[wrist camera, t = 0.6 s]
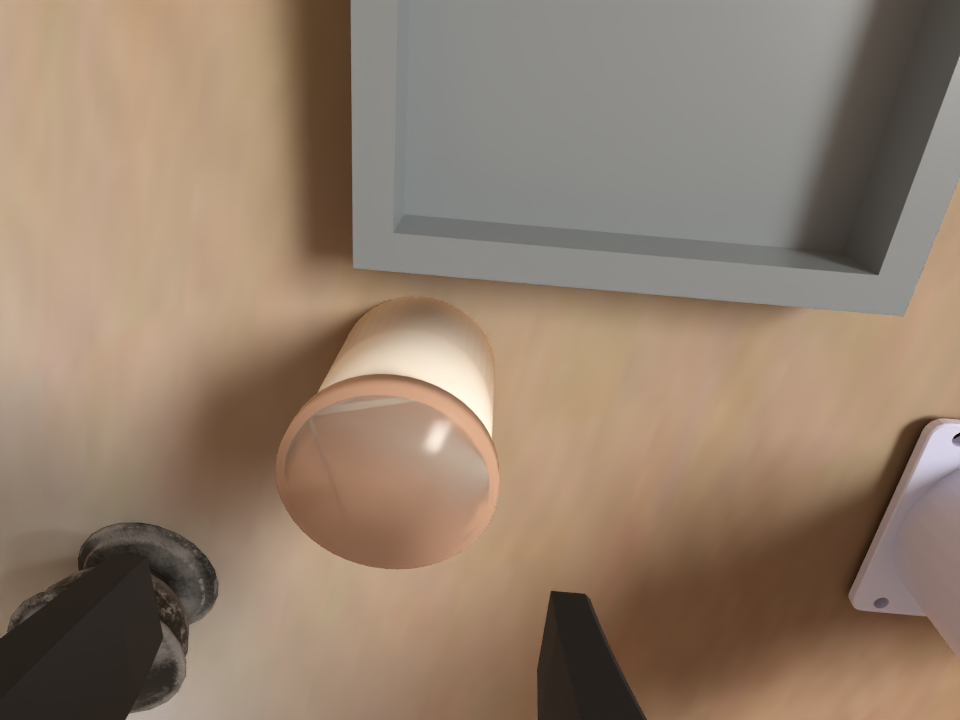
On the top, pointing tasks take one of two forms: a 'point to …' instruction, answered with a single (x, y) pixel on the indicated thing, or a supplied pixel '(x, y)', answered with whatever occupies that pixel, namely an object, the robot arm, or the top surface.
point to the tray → (658, 144)
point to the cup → (397, 440)
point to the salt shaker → (178, 590)
